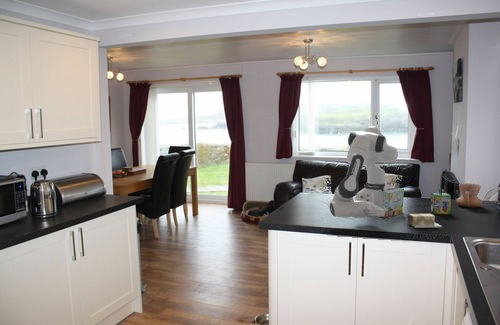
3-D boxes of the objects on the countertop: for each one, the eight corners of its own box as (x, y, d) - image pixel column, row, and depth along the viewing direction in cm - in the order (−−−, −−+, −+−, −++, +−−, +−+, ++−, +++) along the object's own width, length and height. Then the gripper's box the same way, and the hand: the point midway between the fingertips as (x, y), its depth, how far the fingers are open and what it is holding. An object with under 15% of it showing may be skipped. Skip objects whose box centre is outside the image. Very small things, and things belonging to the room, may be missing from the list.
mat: (415, 227, 209) (415, 226, 209) (408, 223, 218) (408, 222, 218) (442, 227, 209) (442, 226, 209) (433, 222, 218) (433, 221, 218)
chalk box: (450, 214, 236) (451, 190, 234) (433, 214, 238) (435, 189, 236) (446, 211, 245) (447, 187, 243) (430, 210, 247) (431, 187, 245)
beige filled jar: (412, 216, 210) (434, 215, 210) (408, 213, 215) (430, 213, 215) (411, 225, 211) (434, 225, 211) (407, 223, 216) (429, 222, 216)
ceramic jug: (459, 202, 269) (460, 181, 267) (484, 205, 260) (485, 183, 258) (452, 208, 255) (453, 186, 254) (478, 211, 246) (479, 188, 244)
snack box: (388, 219, 227) (389, 192, 225) (379, 217, 231) (380, 191, 229) (403, 212, 242) (404, 188, 241) (394, 211, 246) (395, 186, 245)
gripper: (367, 207, 200) (394, 207, 201) (355, 199, 221) (380, 199, 221) (367, 219, 201) (394, 219, 201) (355, 210, 221) (380, 210, 222)
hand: (387, 208), depth 212 cm, fingers closed
